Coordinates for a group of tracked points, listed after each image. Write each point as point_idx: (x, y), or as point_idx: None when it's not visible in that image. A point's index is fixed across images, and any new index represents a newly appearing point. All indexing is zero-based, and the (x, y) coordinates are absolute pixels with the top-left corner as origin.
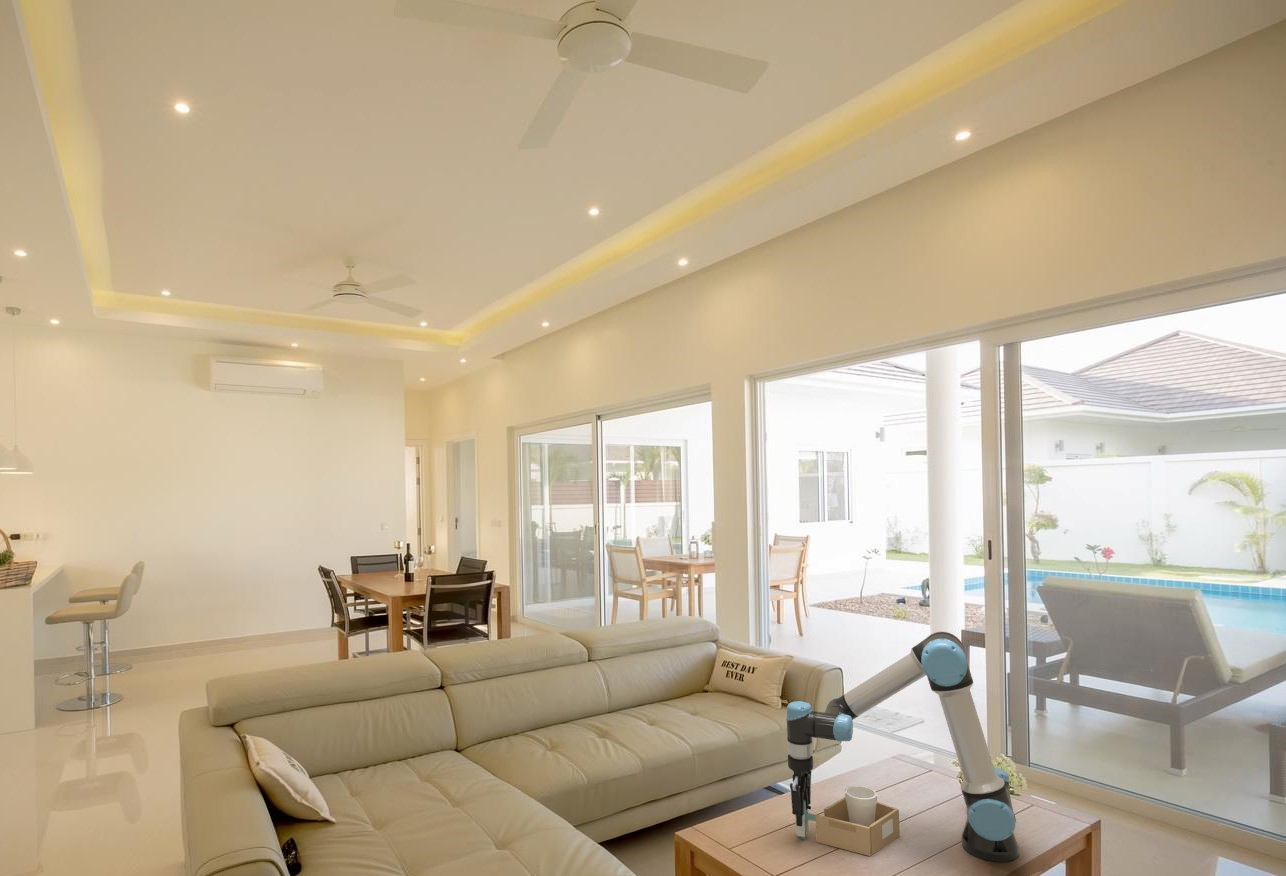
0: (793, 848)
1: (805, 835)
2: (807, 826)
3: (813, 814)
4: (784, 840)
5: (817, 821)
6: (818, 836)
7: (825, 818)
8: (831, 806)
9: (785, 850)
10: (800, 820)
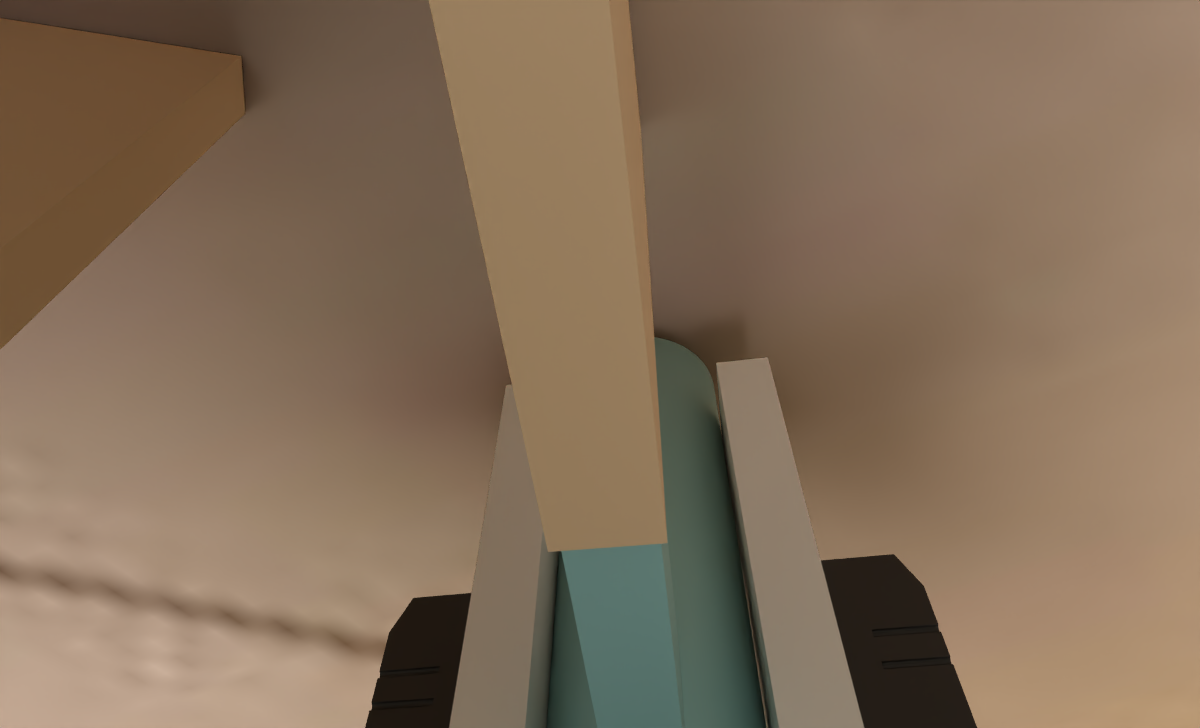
0: (1068, 360)
1: (664, 373)
2: None
3: (586, 618)
4: (865, 545)
5: (653, 342)
6: (638, 127)
7: (610, 83)
8: None
9: (1188, 425)
10: (964, 699)
